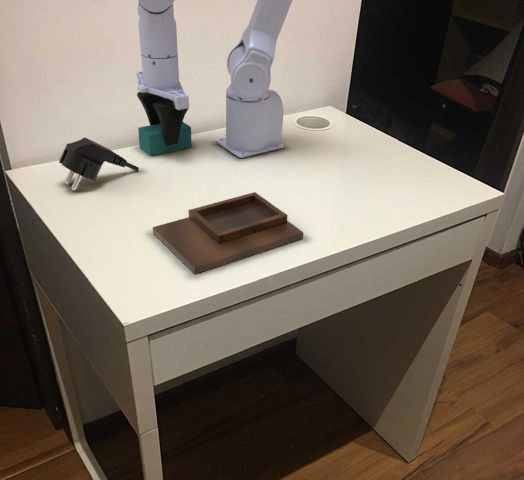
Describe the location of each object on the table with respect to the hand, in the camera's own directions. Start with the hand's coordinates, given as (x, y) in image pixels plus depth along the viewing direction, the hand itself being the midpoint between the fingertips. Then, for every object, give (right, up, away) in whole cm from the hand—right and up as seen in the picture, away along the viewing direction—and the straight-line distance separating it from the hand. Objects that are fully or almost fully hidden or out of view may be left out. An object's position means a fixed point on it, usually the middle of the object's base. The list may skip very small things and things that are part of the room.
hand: (165, 139), depth 100 cm
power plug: (-8, -10, -9) cm, 16 cm away
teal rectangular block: (0, -1, +1) cm, 1 cm away
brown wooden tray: (+12, -21, -21) cm, 32 cm away
